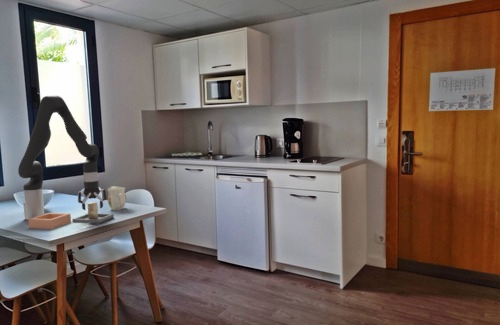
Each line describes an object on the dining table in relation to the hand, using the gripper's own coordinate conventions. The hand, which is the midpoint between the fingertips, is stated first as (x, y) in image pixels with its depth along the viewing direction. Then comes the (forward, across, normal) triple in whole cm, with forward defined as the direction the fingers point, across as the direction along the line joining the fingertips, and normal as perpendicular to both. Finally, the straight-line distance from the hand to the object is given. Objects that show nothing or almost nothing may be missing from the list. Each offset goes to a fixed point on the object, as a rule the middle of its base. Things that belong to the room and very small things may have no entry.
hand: (92, 208), depth 208 cm
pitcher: (+7, +18, +22) cm, 29 cm away
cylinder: (+6, 0, 0) cm, 6 cm away
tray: (+7, 0, 0) cm, 7 cm away
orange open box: (+7, -21, +1) cm, 22 cm away
